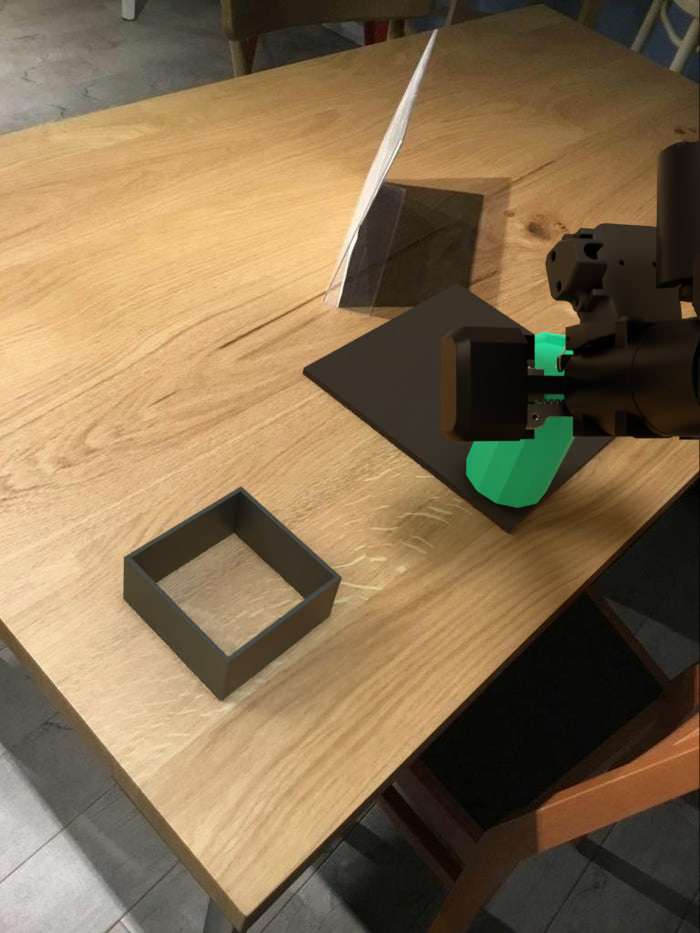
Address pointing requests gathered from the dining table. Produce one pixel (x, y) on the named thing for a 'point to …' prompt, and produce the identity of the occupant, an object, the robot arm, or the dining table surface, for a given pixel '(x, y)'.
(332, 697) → the dining table surface
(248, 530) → the dark grey square tray
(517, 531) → the dining table surface
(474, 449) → the candle
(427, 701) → the dining table surface
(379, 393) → the mat
